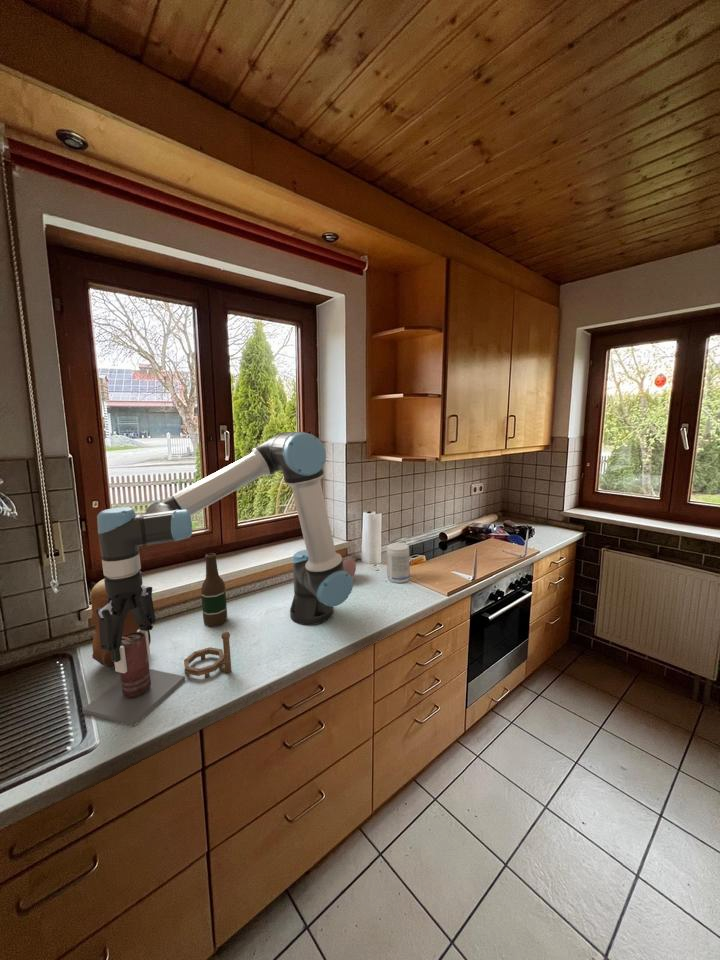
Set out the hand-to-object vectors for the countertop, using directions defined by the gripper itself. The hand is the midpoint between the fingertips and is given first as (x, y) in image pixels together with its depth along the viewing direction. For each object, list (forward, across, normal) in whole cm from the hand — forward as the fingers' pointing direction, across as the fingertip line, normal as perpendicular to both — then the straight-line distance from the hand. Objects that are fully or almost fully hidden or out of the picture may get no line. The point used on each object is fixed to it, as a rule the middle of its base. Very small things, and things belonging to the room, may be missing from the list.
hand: (133, 662), depth 93 cm
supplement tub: (+10, -86, +50) cm, 100 cm away
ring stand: (+9, -14, +11) cm, 20 cm away
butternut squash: (+9, -10, -15) cm, 20 cm away
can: (+8, 0, 0) cm, 8 cm away
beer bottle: (+9, -36, -4) cm, 37 cm away
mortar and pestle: (+9, -79, +27) cm, 84 cm away
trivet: (+9, 0, 0) cm, 9 cm away
